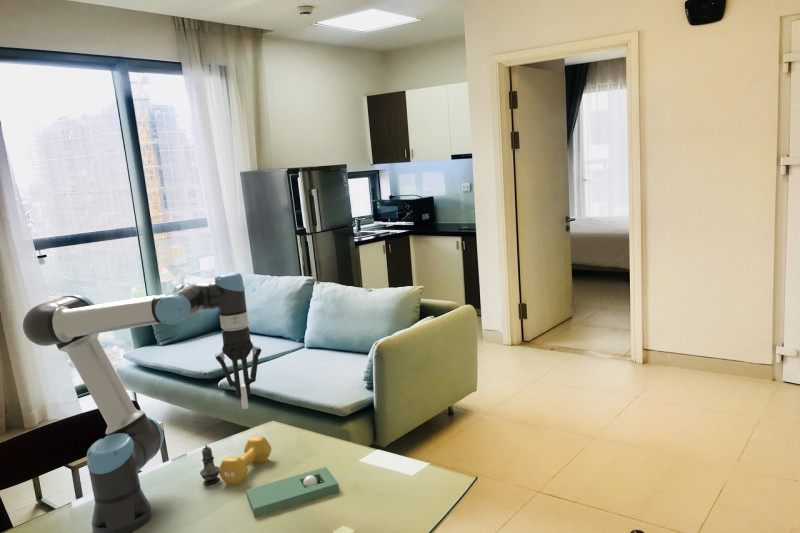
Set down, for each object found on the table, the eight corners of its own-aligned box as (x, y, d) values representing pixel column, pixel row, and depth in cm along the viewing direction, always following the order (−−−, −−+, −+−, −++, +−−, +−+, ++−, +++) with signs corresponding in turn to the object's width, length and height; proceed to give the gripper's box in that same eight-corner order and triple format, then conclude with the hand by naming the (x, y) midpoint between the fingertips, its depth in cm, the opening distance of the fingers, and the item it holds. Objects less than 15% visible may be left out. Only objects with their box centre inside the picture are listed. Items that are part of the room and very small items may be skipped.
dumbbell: (243, 488, 184) (239, 462, 182) (217, 486, 186) (213, 461, 185) (275, 458, 201) (272, 435, 200) (251, 457, 204) (247, 434, 203)
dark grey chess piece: (202, 488, 186) (196, 450, 184) (200, 480, 191) (194, 443, 190) (222, 482, 188) (217, 445, 186) (220, 475, 194) (214, 438, 192)
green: (254, 517, 166) (253, 508, 166) (247, 497, 177) (245, 489, 177) (339, 491, 175) (338, 483, 175) (327, 474, 186) (326, 466, 186)
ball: (308, 495, 176) (303, 483, 175) (304, 489, 179) (299, 477, 178) (321, 487, 177) (315, 475, 176) (317, 482, 181) (311, 470, 180)
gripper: (212, 334, 169) (223, 416, 172) (260, 326, 173) (270, 406, 177) (210, 329, 176) (220, 407, 179) (256, 321, 180) (265, 398, 184)
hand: (245, 407), depth 178 cm, fingers closed
